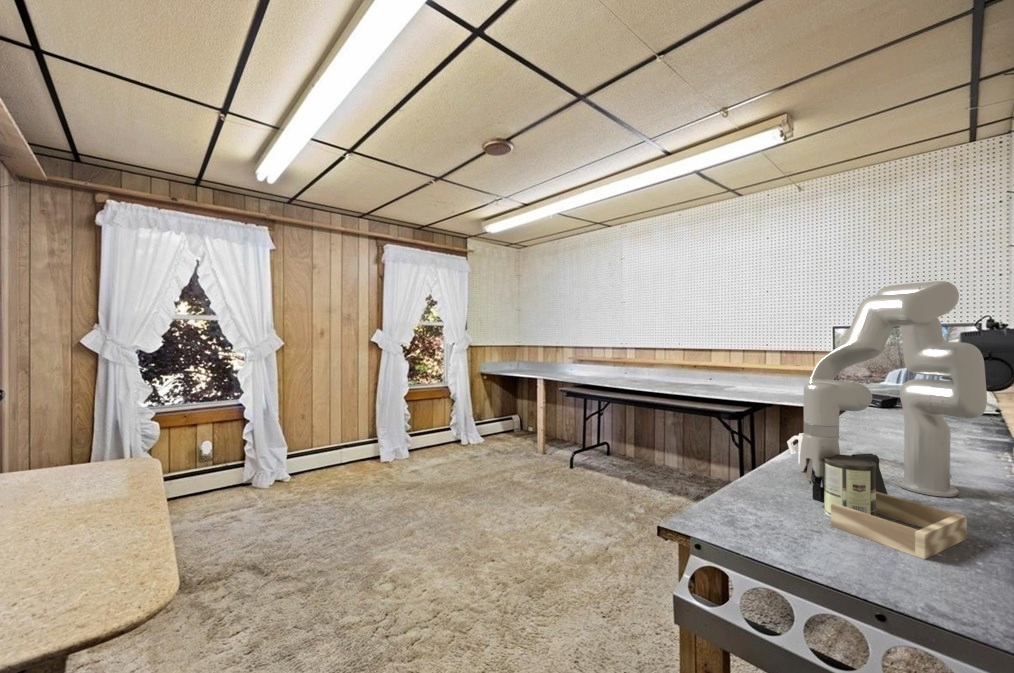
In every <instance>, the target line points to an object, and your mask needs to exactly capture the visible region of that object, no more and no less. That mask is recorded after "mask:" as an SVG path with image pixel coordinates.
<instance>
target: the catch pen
mask: <svg viewBox="0 0 1014 673" xmlns="http://www.w3.org/2000/svg"><path fill="white" fill-rule="evenodd" d="M887 494H888V493H887ZM887 494H883V493H880V492H876V516H873V515H870V514H866V513H863V512H860V511H857V510H854V509H851V508H848V507H844V506H841V505H838V504H835V503H834V504H831V517H830V527H834V528H836V529H839V530H842V531H844V532H848V533H851V534H853V535H855V536H858V537H861V538H864V539H867V540H870V541H873V542H876V543H877V544H881V545H884V546H886V547H889V548H892V549H894V550H897V551H899V552H900V551H901V552H903V553H906V554H907V555H911V556H913V557H917V558H919V559H921V560H926V559H928V558H930V557H933V556H935V555H937V554H939V553H941V552H943V551H945V550H947V549H949V548H952V547H953V546H955V545H957V544H959V543H961V542H964V541H966V540H967V531H968V530H967V524H968V523H967V522H968V521H967V519H968V518H967V516H966V515H963V514H959V513H956V512H953V511H949V510H945V509H942V508H941V509H940V508H938V507H933V506H930V505H927V504H923V503H919V502H916V501H912V500H908V499H905V498H901V497H896V496H893V495H889V494H888V495H887ZM877 515H881V516H883V517H887V518H890V519H893V520H897V521H899V522H903V523H907V524H909V525H913V526H915V527H920V529H917V528H914V527H910V526H907V525H904V524H902V523H901V524H900V523H898V522H894V521H891V520H888V519H885V518H881V517H879V516H877Z"/></svg>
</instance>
